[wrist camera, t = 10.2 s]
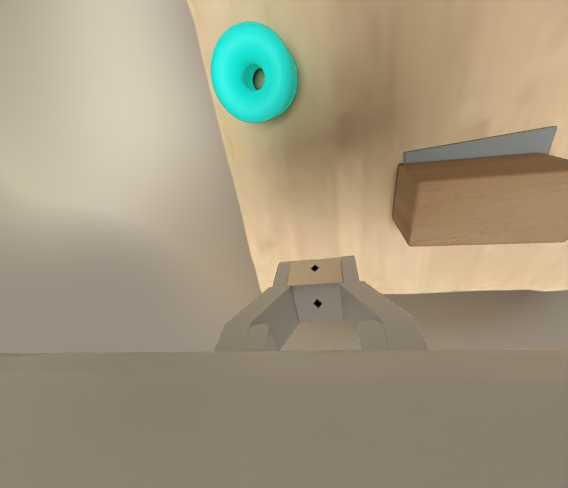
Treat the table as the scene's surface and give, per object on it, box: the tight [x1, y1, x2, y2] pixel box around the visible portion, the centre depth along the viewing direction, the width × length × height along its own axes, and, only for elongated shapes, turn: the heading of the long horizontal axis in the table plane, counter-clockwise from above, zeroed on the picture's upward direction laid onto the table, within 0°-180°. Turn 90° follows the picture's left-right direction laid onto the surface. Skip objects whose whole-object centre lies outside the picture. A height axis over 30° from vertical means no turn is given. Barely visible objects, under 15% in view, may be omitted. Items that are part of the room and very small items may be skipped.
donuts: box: [211, 22, 298, 123], centre depth 32 cm, size 10×10×10 cm
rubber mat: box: [404, 126, 557, 164], centre depth 40 cm, size 14×20×1 cm
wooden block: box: [393, 153, 568, 247], centre depth 36 cm, size 10×10×20 cm
